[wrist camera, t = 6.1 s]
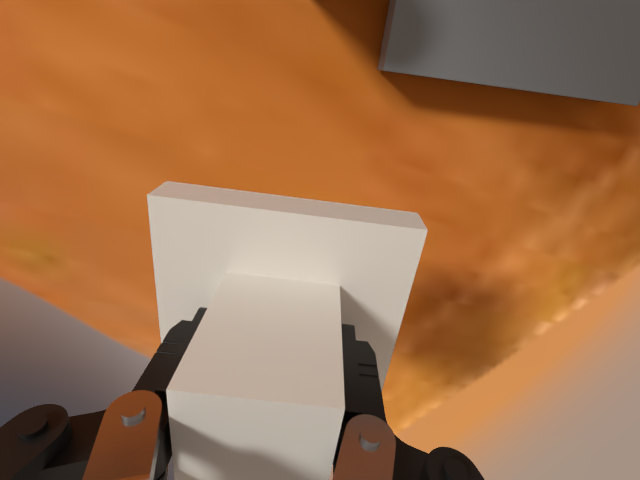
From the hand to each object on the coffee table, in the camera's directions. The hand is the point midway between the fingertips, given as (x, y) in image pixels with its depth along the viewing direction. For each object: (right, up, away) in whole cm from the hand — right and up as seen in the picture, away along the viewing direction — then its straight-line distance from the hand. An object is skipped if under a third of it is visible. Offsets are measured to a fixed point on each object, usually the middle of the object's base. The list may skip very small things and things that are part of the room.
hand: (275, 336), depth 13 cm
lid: (0, +1, +2) cm, 2 cm away
